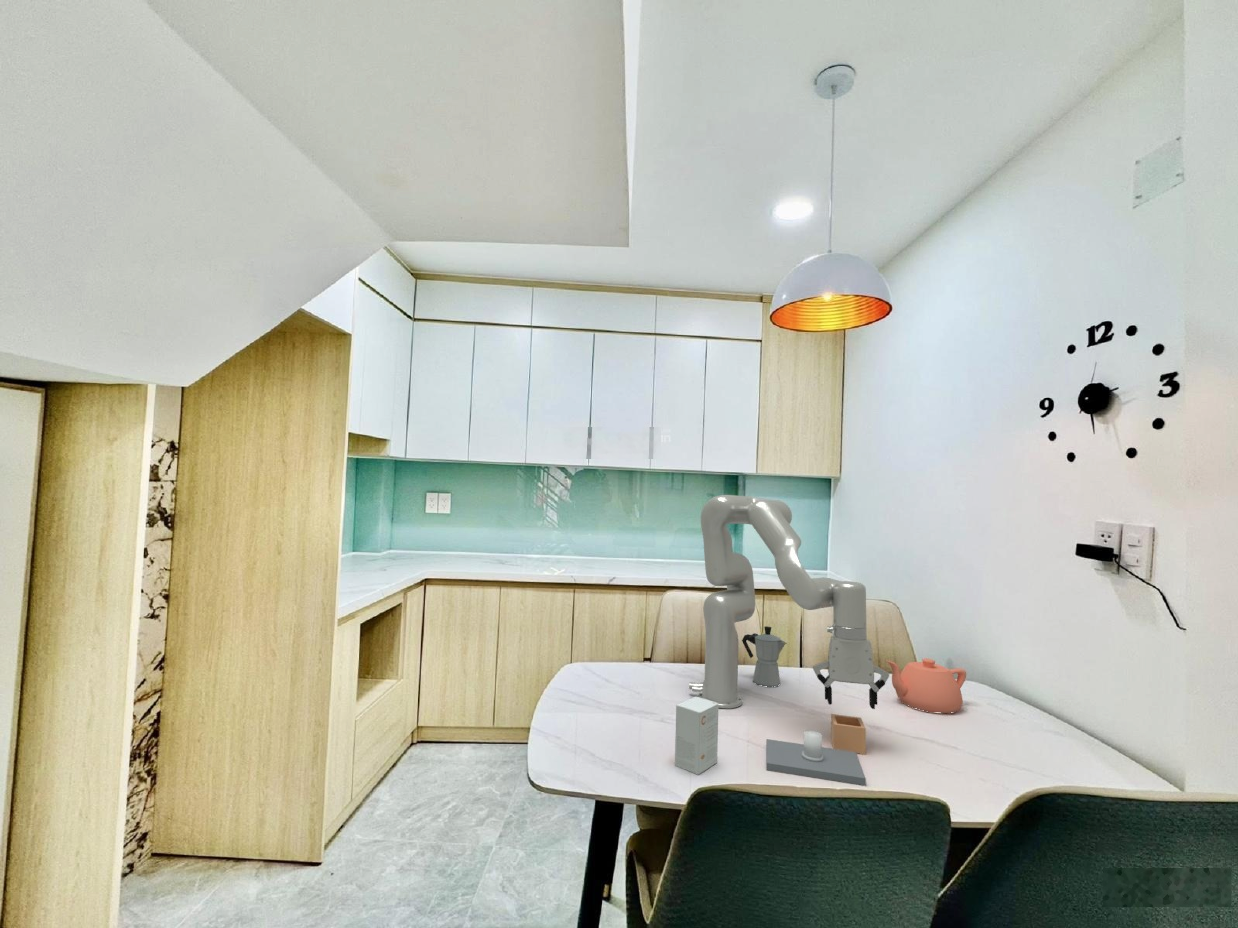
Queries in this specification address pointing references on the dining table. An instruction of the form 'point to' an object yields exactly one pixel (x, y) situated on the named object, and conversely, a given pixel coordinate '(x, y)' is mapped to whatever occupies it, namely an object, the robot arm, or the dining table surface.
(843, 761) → the grey plate with peg
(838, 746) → the collar
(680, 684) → the dining table surface
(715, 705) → the small box
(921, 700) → the teapot
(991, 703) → the dining table surface
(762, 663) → the coffee maker
